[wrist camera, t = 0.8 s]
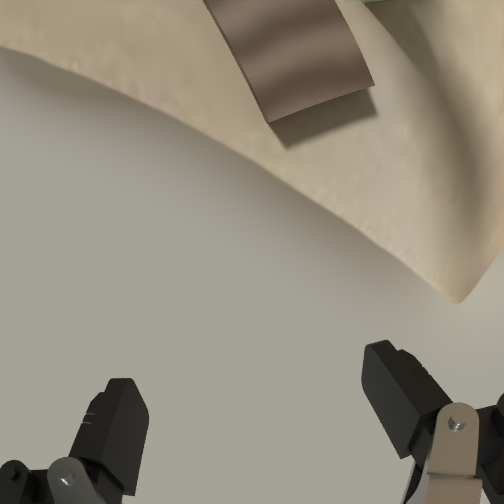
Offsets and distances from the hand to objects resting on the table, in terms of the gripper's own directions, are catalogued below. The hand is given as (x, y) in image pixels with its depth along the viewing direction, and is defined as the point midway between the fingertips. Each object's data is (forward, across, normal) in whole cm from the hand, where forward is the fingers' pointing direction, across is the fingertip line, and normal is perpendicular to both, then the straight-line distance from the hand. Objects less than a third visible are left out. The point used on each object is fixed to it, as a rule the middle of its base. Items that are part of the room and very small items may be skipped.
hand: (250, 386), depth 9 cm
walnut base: (+24, -8, -21) cm, 33 cm away
